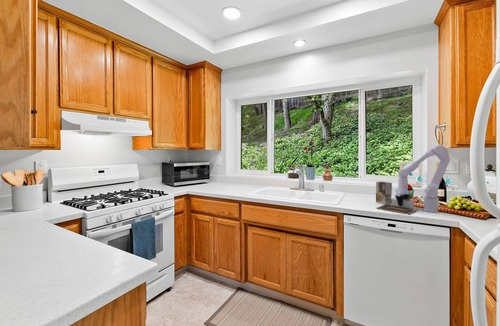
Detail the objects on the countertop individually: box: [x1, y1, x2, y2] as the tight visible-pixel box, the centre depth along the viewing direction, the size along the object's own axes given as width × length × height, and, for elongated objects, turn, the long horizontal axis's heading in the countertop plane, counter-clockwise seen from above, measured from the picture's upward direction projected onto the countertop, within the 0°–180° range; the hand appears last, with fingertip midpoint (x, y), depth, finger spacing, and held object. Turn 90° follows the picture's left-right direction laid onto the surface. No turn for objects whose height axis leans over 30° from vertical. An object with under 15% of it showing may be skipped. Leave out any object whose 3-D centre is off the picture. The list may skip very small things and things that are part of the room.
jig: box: [376, 204, 417, 215], centre depth 164 cm, size 13×20×2 cm, turn 37°
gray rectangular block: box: [391, 197, 414, 210], centre depth 170 cm, size 5×12×7 cm, turn 37°
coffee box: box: [375, 181, 393, 205], centre depth 185 cm, size 9×6×16 cm
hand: (402, 205), depth 170 cm, fingers open, 6 cm apart
